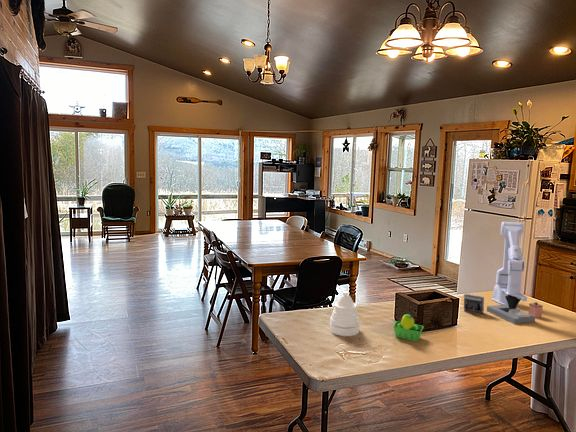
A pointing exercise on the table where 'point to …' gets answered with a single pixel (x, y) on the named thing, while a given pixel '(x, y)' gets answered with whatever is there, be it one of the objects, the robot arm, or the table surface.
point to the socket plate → (503, 313)
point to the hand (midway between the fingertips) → (512, 310)
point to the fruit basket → (407, 328)
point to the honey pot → (344, 317)
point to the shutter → (518, 313)
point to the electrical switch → (473, 303)
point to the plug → (535, 309)
